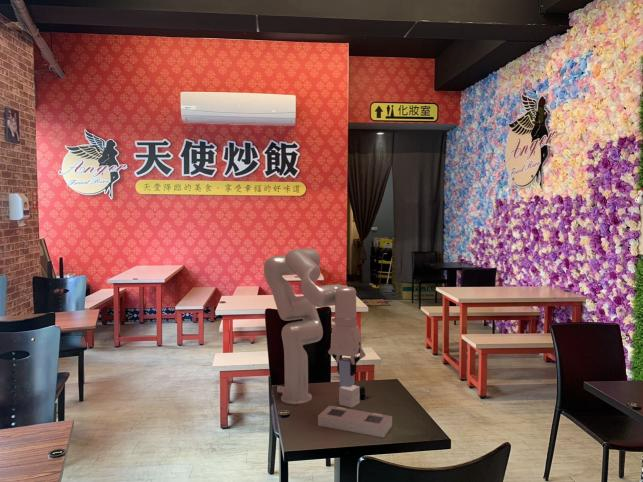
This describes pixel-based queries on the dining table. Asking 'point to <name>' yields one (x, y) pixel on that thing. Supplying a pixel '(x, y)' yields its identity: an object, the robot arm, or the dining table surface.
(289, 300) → the robot arm
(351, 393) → the product box
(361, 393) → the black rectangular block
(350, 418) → the panel
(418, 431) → the dining table surface
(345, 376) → the plug
